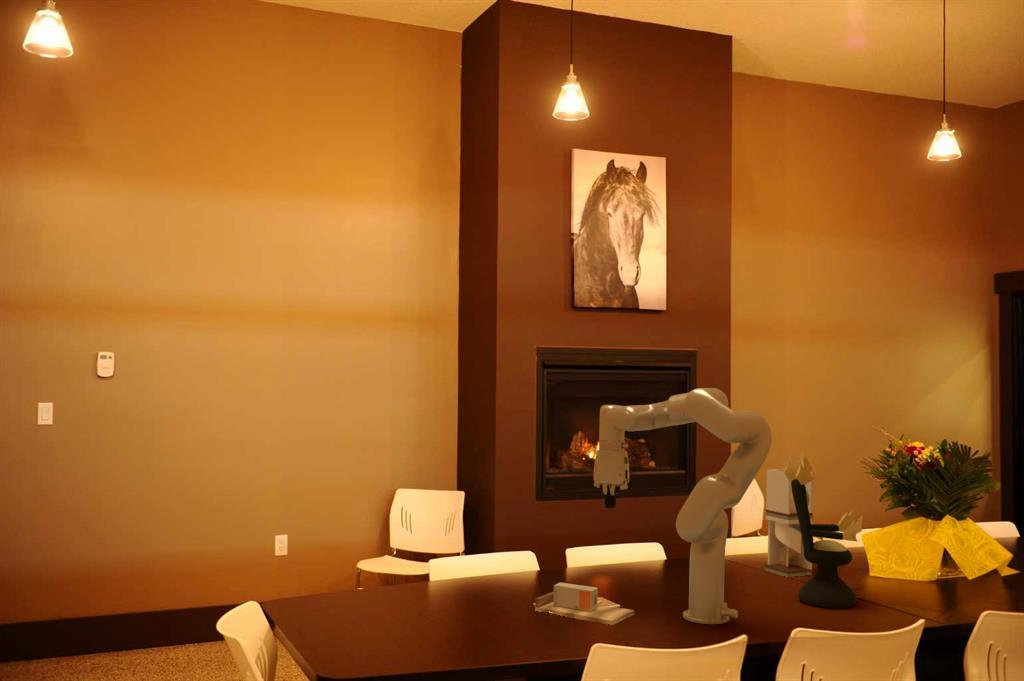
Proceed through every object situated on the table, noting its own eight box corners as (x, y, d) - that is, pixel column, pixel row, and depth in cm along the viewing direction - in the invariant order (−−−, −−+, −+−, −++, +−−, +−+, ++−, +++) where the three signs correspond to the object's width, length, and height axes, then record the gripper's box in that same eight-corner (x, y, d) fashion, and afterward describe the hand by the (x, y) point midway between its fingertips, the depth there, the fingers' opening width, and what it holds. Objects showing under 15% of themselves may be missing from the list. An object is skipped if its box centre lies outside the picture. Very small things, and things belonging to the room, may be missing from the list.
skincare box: (591, 612, 266) (553, 606, 272) (598, 608, 270) (559, 603, 276) (591, 590, 267) (553, 584, 272) (598, 587, 270) (559, 581, 276)
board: (634, 614, 270) (634, 601, 270) (612, 625, 258) (612, 611, 258) (559, 601, 282) (559, 589, 283) (534, 611, 271) (535, 598, 271)
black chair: (863, 613, 279) (866, 456, 280) (784, 607, 283) (786, 453, 284) (854, 598, 297) (856, 451, 298) (779, 592, 302) (782, 448, 303)
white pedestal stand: (764, 570, 335) (766, 469, 336) (788, 568, 339) (790, 468, 340) (787, 577, 325) (789, 473, 326) (811, 575, 329) (813, 472, 330)
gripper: (639, 447, 288) (638, 509, 287) (594, 444, 296) (593, 504, 295) (629, 448, 281) (627, 511, 281) (583, 445, 289) (582, 506, 289)
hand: (610, 507), depth 288 cm, fingers closed
